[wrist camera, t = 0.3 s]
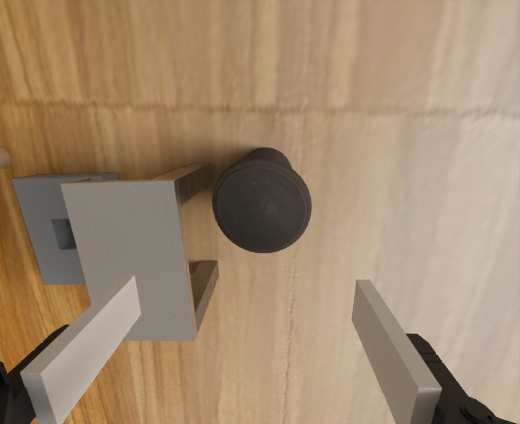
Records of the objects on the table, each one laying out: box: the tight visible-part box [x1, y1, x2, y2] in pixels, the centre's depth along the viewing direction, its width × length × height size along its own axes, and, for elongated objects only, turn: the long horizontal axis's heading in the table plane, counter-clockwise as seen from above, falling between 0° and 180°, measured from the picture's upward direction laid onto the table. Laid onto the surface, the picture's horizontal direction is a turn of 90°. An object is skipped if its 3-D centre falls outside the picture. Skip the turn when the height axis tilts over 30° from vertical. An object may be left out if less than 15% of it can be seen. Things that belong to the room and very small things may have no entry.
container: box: [212, 148, 312, 253], centre depth 31 cm, size 9×9×20 cm
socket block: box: [12, 173, 119, 284], centre depth 43 cm, size 18×14×4 cm
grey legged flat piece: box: [60, 164, 219, 341], centre depth 37 cm, size 20×12×15 cm, turn 2°
